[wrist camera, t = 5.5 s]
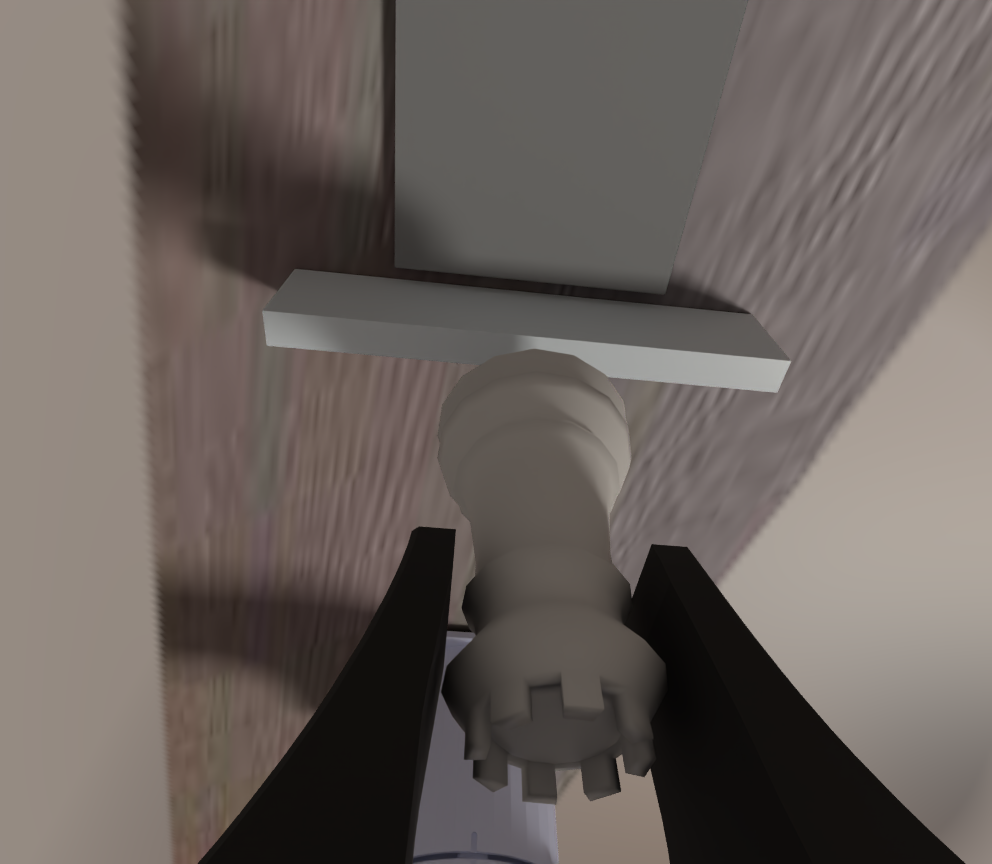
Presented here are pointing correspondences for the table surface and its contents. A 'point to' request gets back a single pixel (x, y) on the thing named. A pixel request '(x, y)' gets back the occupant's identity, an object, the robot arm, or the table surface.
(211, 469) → the table surface
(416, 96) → the charcoal pad
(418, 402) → the table surface
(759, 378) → the grey acrylic wall
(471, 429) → the rook chess piece
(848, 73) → the table surface
